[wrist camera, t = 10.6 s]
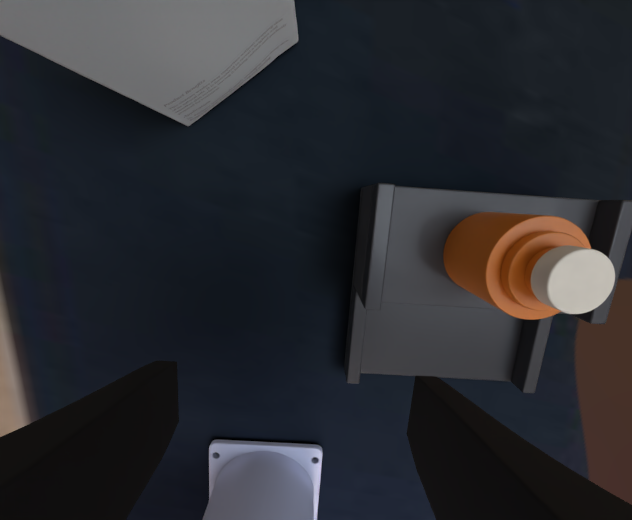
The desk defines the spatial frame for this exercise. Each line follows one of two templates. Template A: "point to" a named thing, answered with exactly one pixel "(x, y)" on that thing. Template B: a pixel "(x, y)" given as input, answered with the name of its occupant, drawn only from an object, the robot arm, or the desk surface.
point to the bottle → (528, 264)
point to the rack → (452, 286)
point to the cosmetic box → (157, 45)
